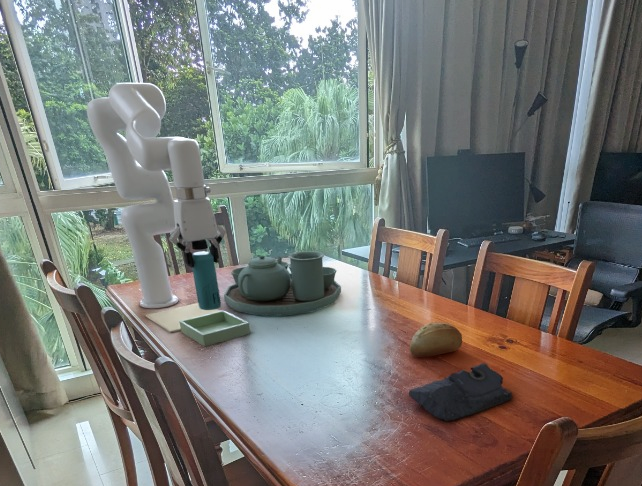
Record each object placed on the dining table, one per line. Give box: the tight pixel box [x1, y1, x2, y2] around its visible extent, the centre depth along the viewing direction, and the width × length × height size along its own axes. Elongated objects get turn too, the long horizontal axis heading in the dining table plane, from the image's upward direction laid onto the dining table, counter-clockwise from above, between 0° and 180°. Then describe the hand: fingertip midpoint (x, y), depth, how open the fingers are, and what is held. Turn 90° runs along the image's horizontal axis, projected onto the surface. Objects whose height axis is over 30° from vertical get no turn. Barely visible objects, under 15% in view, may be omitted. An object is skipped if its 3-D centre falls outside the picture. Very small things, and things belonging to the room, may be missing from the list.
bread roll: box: [409, 322, 463, 358], centre depth 132 cm, size 10×15×8 cm, turn 114°
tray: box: [179, 309, 251, 347], centre depth 150 cm, size 16×15×3 cm
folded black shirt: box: [408, 362, 513, 422], centre depth 112 cm, size 15×22×5 cm
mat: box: [145, 302, 221, 334], centre depth 163 cm, size 20×20×1 cm
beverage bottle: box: [191, 239, 222, 310], centre depth 143 cm, size 6×7×20 cm
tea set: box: [223, 250, 342, 317], centre depth 174 cm, size 40×40×16 cm
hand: (202, 263), depth 141 cm, fingers closed on beverage bottle, 6 cm apart
